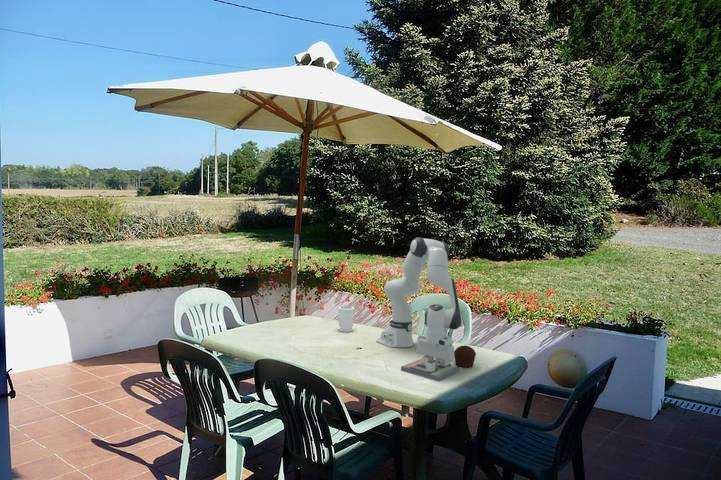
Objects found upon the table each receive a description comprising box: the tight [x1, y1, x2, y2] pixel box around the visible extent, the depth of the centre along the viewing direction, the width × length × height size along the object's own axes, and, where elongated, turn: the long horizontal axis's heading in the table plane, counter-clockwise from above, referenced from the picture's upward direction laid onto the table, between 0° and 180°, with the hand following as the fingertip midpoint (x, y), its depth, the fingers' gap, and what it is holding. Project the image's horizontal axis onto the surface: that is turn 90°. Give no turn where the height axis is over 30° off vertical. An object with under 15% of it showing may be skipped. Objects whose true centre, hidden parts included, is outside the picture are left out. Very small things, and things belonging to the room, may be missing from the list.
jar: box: [337, 305, 355, 333], centre depth 336 cm, size 11×10×15 cm
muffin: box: [454, 345, 477, 369], centre depth 269 cm, size 12×11×10 cm
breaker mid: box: [422, 355, 430, 366], centre depth 261 cm, size 3×3×5 cm
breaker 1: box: [426, 360, 435, 372], centre depth 253 cm, size 3×3×5 cm
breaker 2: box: [440, 359, 450, 366], centre depth 261 cm, size 3×3×5 cm
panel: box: [400, 358, 461, 382], centre depth 260 cm, size 22×19×3 cm
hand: (434, 365), depth 258 cm, fingers closed
